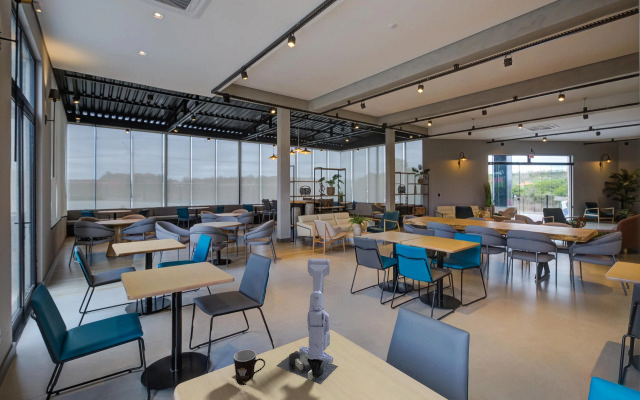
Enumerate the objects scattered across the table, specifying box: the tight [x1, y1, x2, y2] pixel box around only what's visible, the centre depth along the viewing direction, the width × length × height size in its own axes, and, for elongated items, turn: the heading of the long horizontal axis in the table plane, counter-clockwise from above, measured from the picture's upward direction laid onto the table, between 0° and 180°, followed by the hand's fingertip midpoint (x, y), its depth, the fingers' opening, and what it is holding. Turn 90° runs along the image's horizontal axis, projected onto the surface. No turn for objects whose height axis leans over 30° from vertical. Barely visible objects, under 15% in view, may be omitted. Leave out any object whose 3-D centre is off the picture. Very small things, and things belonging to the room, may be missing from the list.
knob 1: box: [289, 352, 303, 370], centre depth 127 cm, size 8×4×3 cm, turn 35°
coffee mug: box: [233, 348, 266, 386], centre depth 118 cm, size 12×9×10 cm
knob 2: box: [307, 363, 323, 381], centre depth 121 cm, size 8×4×3 cm, turn 148°
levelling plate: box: [275, 350, 339, 385], centre depth 127 cm, size 14×22×6 cm, turn 58°
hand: (315, 375), depth 118 cm, fingers closed
